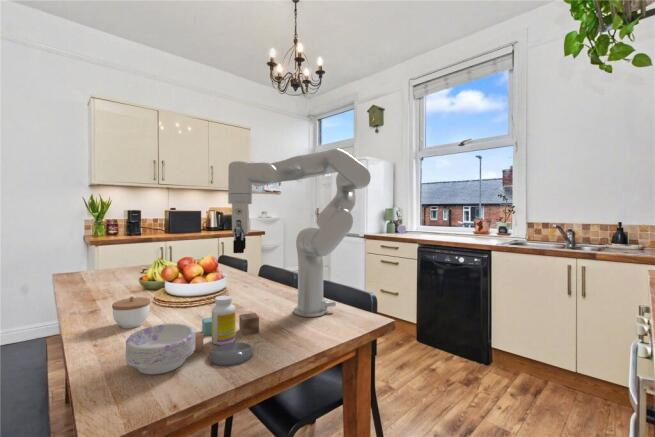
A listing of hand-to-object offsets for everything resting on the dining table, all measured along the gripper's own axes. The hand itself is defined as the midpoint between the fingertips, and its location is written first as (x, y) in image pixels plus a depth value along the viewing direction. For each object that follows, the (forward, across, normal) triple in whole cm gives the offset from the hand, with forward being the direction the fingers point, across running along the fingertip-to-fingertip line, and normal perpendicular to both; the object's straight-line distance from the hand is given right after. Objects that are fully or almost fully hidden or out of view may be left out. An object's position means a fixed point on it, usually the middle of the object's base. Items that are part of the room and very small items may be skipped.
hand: (239, 251), depth 106 cm
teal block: (+25, -5, +8) cm, 26 cm away
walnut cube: (+25, -7, -4) cm, 26 cm away
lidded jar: (+25, +6, +35) cm, 43 cm away
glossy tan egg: (+25, -17, +10) cm, 32 cm away
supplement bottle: (+25, -13, +3) cm, 28 cm away
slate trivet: (+25, -23, 0) cm, 34 cm away
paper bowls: (+25, -25, +17) cm, 39 cm away
